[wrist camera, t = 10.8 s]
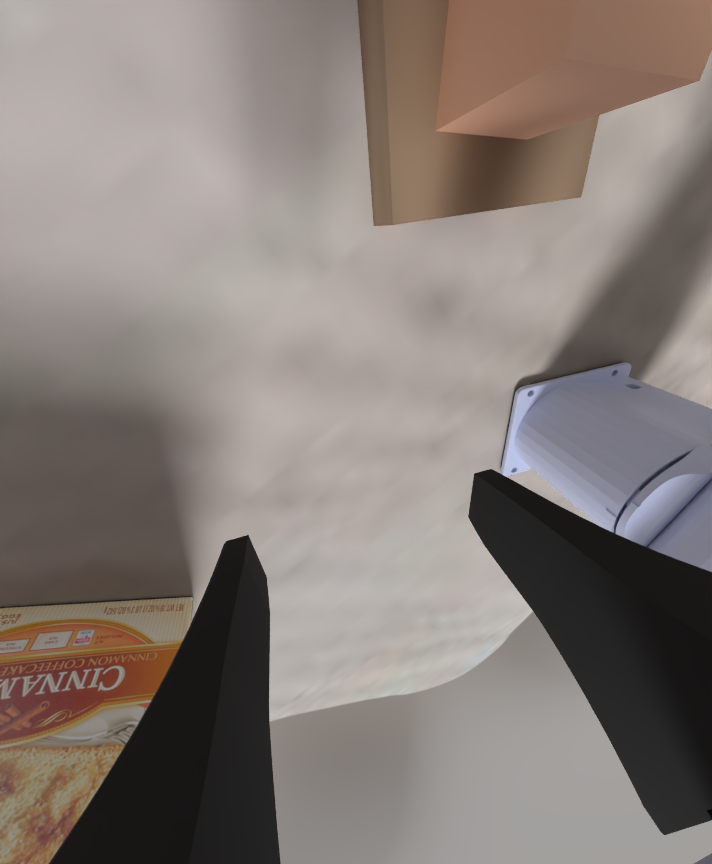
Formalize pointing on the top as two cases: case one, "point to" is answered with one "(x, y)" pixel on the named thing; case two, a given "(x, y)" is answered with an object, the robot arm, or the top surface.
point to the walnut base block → (444, 151)
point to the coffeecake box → (73, 707)
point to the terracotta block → (563, 60)
